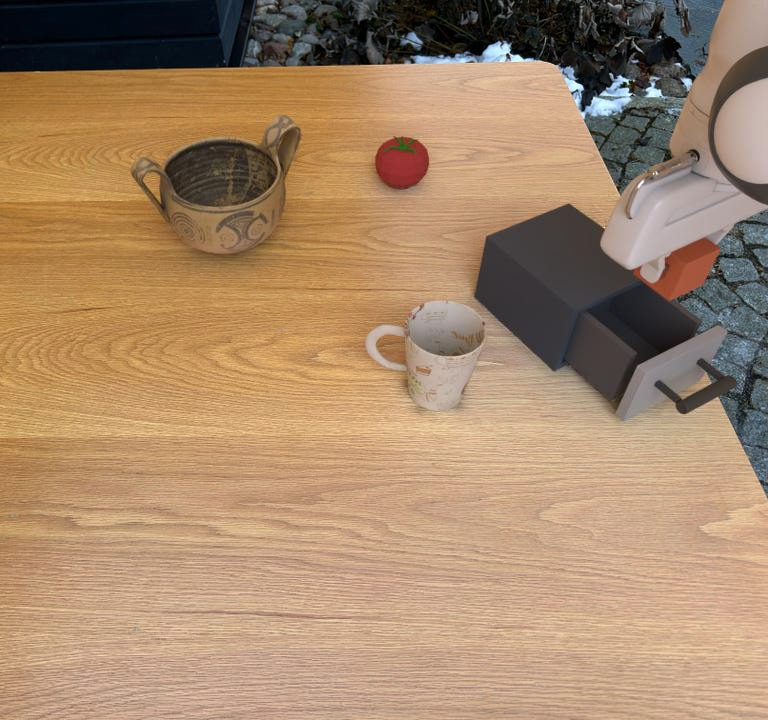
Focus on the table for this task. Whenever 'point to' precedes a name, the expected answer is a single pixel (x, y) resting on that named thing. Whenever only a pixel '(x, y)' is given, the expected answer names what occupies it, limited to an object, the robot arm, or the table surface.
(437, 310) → the mug
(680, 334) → the drawer
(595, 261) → the cabinet
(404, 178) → the tomato
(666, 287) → the block
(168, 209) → the ceramic bowl
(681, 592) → the table surface
